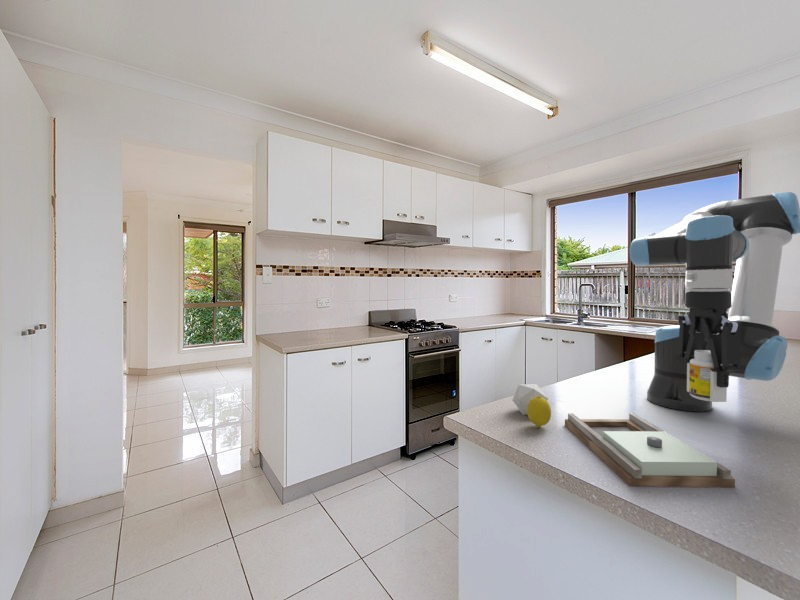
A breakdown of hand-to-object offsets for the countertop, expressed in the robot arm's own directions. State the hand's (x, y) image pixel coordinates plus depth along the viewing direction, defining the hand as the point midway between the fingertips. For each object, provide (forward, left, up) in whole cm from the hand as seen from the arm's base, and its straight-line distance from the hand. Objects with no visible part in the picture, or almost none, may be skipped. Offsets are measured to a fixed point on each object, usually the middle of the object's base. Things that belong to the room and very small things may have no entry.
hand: (705, 396), depth 76 cm
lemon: (+32, -10, -11) cm, 36 cm away
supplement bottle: (0, 0, -1) cm, 1 cm away
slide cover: (+16, +8, -10) cm, 21 cm away
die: (+31, -20, -11) cm, 39 cm away
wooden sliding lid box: (+16, +2, -11) cm, 20 cm away
